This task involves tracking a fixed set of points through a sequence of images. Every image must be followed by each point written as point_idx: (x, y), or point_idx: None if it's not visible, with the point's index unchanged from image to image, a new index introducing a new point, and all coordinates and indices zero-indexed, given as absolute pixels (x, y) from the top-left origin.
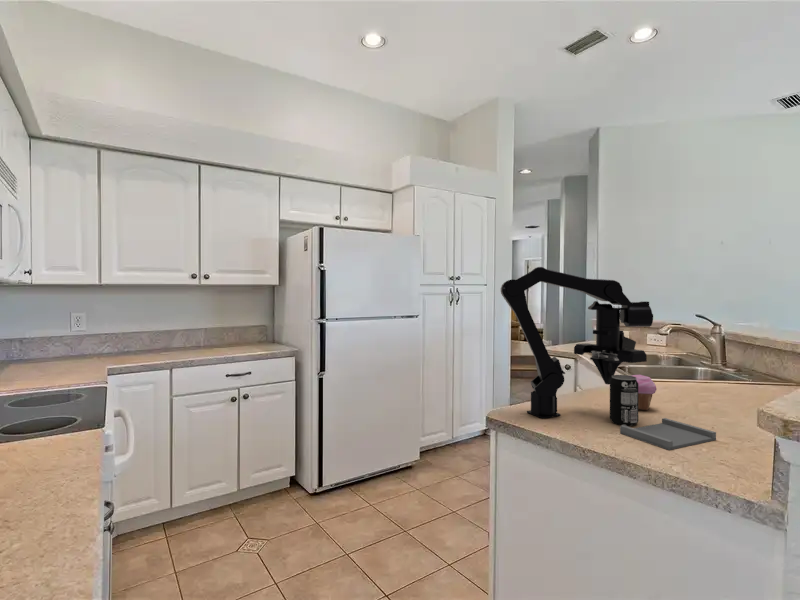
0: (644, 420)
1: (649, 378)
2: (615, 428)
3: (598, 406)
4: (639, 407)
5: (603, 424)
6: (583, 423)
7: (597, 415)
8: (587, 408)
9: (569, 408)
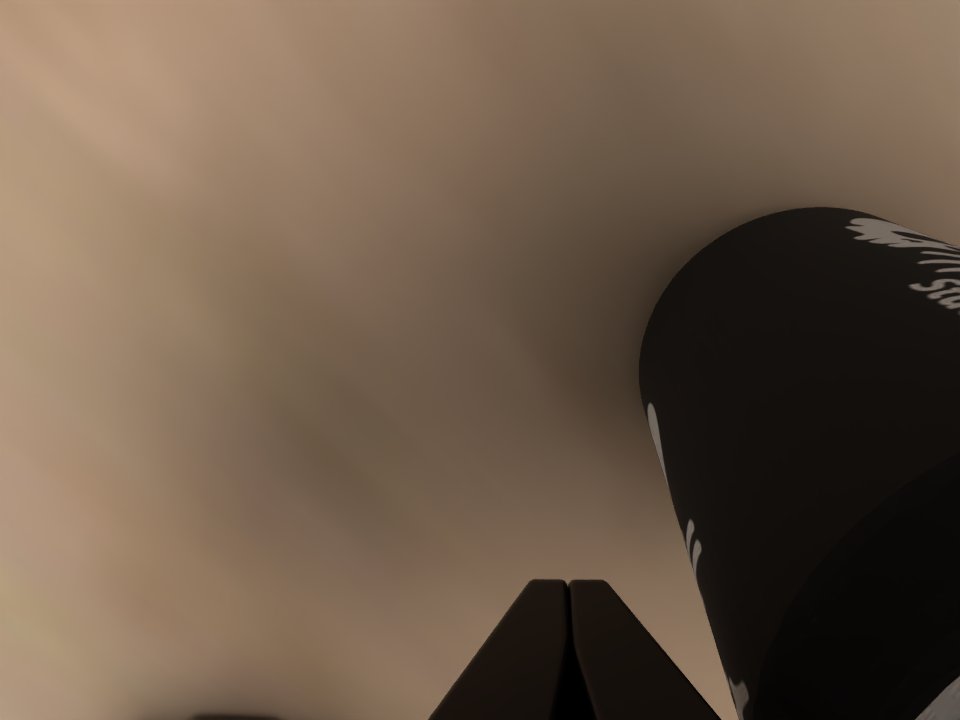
0: (856, 6)
1: None
2: None
3: (93, 28)
4: None
5: None
6: None
7: (441, 387)
8: (151, 257)
9: (105, 452)
